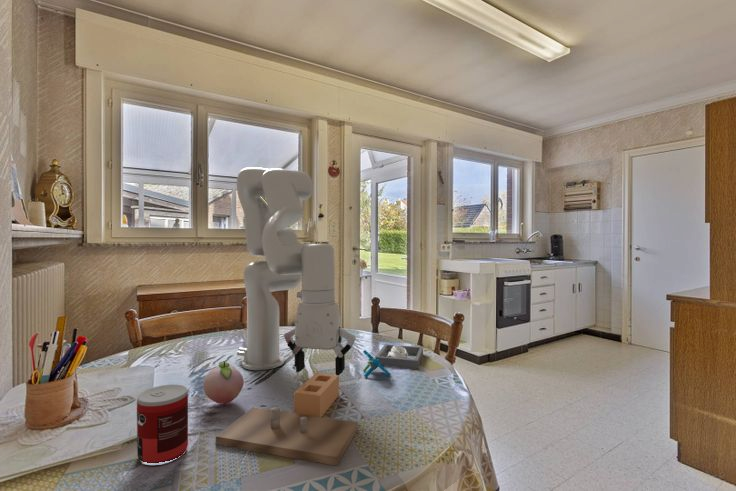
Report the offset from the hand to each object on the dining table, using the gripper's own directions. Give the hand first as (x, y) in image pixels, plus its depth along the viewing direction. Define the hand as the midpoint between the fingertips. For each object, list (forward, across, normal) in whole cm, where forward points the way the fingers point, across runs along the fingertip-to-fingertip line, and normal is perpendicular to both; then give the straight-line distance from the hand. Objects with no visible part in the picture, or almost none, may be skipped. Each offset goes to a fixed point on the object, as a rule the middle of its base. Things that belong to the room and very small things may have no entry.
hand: (319, 371), depth 82 cm
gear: (+8, +8, +22) cm, 24 cm away
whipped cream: (+8, +12, +37) cm, 39 cm away
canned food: (+8, -20, -24) cm, 32 cm away
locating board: (+8, -1, -13) cm, 16 cm away
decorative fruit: (+8, -22, -5) cm, 24 cm away
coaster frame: (+7, +12, +37) cm, 39 cm away
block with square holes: (+8, -1, +1) cm, 8 cm away
